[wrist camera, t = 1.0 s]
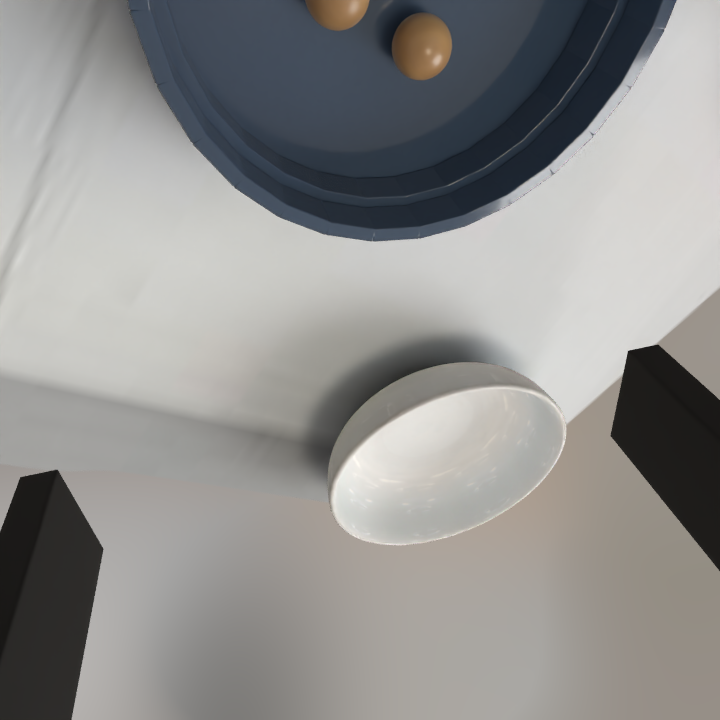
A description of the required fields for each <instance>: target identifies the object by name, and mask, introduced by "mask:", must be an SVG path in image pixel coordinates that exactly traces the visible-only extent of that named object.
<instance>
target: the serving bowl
mask: <svg viewBox="0 0 720 720" xmlns="http://www.w3.org/2000/svg"><path fill="white" fill-rule="evenodd" d="M565 438H566V422H565V418H564V415H563V413H562V411H561V409H560V408H559V406H558V405H557V404H556V402H555V401H554V400H553V399H552V398H551V397H550V396H549V395H548V394H547V393H546V392H545V391H544V390H543V389H542V388H540V387H539V386H538V385H537V384H535V383H534V382H533V381H531V380H530V379H528V378H527V377H525V376H523V375H521V374H519V373H517V372H515V371H513V370H511V369H508V368H505V367H502V366H498V365H493V364H488V363H479V362H460V363H450V364H444V365H438V366H434V367H430V368H427V369H423V370H420V371H417V372H415V373H412V374H410V375H407V376H405V377H403V378H401V379H399V380H397V381H395V382H393V383H391V384H390V385H388V386H386V387H385V388H383V389H382V390H380V391H379V392H378V393H376V394H375V395H374V396H372V397H371V398H370V399H369V400H367V401H366V402H365V403H364V404H363V405H362V406H361V407H360V408H359V409H358V410H357V411H356V412H355V413H354V415H353V416H352V417H351V418H350V419H349V421H348V422H347V423H346V425H345V426H344V428H343V430H342V431H341V433H340V435H339V437H338V439H337V441H336V443H335V445H334V448H333V450H332V454H331V457H330V461H329V467H328V477H327V486H328V496H329V504H330V509H331V512H332V514H333V517H334V519H335V520H336V522H337V523H338V525H339V526H340V527H341V528H342V529H343V530H345V531H346V532H347V533H349V534H351V535H352V536H354V537H356V538H358V539H360V540H363V541H367V542H370V543H376V544H383V545H410V544H419V543H425V542H430V541H434V540H439V539H443V538H446V537H449V536H452V535H456V534H458V533H461V532H464V531H467V530H469V529H471V528H474V527H476V526H478V525H481V524H483V523H485V522H487V521H489V520H491V519H493V518H494V517H496V516H498V515H500V514H501V513H503V512H505V511H506V510H508V509H509V508H511V507H512V506H514V505H515V504H517V503H518V502H519V501H521V500H522V499H523V498H524V497H526V496H527V495H528V494H529V493H530V492H531V491H532V490H534V489H535V488H536V487H537V486H538V485H539V484H540V483H541V482H542V481H543V480H544V478H545V477H546V476H547V475H548V474H549V472H550V471H551V469H552V468H553V467H554V465H555V464H556V462H557V460H558V458H559V456H560V454H561V452H562V449H563V446H564V443H565Z"/></svg>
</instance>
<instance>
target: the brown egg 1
mask: <svg viewBox="0 0 720 720" xmlns="http://www.w3.org/2000/svg"><path fill="white" fill-rule="evenodd" d="M305 2H306V5H307V8H308V10H309V12H310V14H311V16H312V17H313V18H314V20H315V21H316V22H317V23H318V24H320V25H321V26H323V27H324V28H326V29H329V30H334V31H342V30H346V29H349V28H351V27H353V26H354V25H356V24H357V23H358V22H359V21H360V20H361V19H362V17H363V16H364V14H365V13H366V10H367V8H368V5H369V0H305Z"/></svg>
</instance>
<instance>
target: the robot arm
mask: <svg viewBox="0 0 720 720" xmlns="http://www.w3.org/2000/svg"><path fill="white" fill-rule="evenodd" d="M611 437H612V438H613V439H614V441H615V442H616V443H617V444H618V446H619V447H620V448H621V449H622V450H623V452H624V453H625V454H626V455H627V457H628V458H629V459H630V460H631V462H632V463H633V464H634V465H635V466H636V468H637V469H638V470H639V471H640V473H641V474H642V475H643V476H644V478H645V479H646V480H647V481H648V482H649V484H650V485H651V486H652V488H653V489H654V490H655V491H656V493H657V494H658V495H659V496H660V498H661V499H662V500H663V501H664V502H665V504H666V505H667V506H668V507H669V509H670V510H671V511H672V512H673V514H674V515H675V516H676V517H677V519H678V520H679V521H680V522H681V523H682V525H683V526H684V527H685V528H686V530H687V531H688V532H689V533H690V535H691V536H692V537H693V538H694V540H695V541H696V542H697V543H698V545H699V546H700V547H701V548H702V549H703V551H704V552H705V553H706V554H707V555H708V557H709V558H710V559H711V560H712V562H713V563H714V564H715V566H716V567H717V568H718V569H719V571H720V400H719V399H718V398H717V397H716V396H715V395H714V394H713V393H711V392H710V391H709V390H708V389H707V388H706V387H705V386H704V385H702V384H701V383H700V382H699V381H698V380H697V379H696V378H695V377H693V376H692V375H691V374H690V373H689V372H688V371H687V370H686V369H685V368H684V367H682V366H681V365H680V364H679V363H678V362H677V361H676V360H675V359H673V358H672V357H671V356H670V355H669V354H668V353H667V352H666V351H665V350H664V349H662V348H661V347H660V346H659V345H654V346H649V347H644V348H640V349H635V350H630V351H628V354H627V359H626V364H625V369H624V373H623V378H622V383H621V388H620V393H619V398H618V402H617V407H616V412H615V417H614V421H613V427H612V431H611ZM102 554H103V547H102V546H101V544H100V542H99V540H98V539H97V537H96V535H95V534H94V532H93V530H92V528H91V527H90V525H89V523H88V522H87V520H86V518H85V516H84V515H83V513H82V511H81V509H80V508H79V506H78V504H77V503H76V501H75V499H74V497H73V496H72V494H71V492H70V490H69V489H68V487H67V485H66V483H65V482H64V480H63V478H62V477H61V475H60V473H59V471H58V470H53V471H48V472H44V473H39V474H34V475H29V476H25V477H20V480H19V483H18V485H17V488H16V491H15V493H14V496H13V499H12V502H11V504H10V507H9V510H8V513H7V516H6V518H5V520H4V523H3V526H2V529H1V531H0V720H71V718H72V713H73V708H74V703H75V697H76V692H77V687H78V681H79V676H80V671H81V665H82V660H83V655H84V649H85V644H86V639H87V633H88V628H89V622H90V617H91V612H92V607H93V602H94V596H95V591H96V586H97V580H98V575H99V569H100V564H101V559H102Z"/></svg>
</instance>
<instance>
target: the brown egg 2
mask: <svg viewBox="0 0 720 720" xmlns="http://www.w3.org/2000/svg"><path fill="white" fill-rule="evenodd" d="M451 51H452V39H451V34H450V31H449V29H448V27H447V26H446V24H445V23H444V22H443V21H442V20H441V19H440V18H439V17H437V16H436V15H434V14H431V13H425V12H421V13H416V14H413V15H411V16H409V17H407V18H406V19H405V20H403V21H402V22H401V24H400V25H399V26H398V28H397V29H396V31H395V33H394V36H393V40H392V56H393V60H394V62H395V64H396V66H397V68H398V69H399V70H400V72H401V73H402V74H404V75H405V76H406V77H408V78H410V79H414V80H427V79H430V78H433V77H434V76H436V75H438V74H439V73H440V72H441V71H442V70H443V69H444V68H445V66H446V65H447V63H448V61H449V58H450V55H451Z"/></svg>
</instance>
